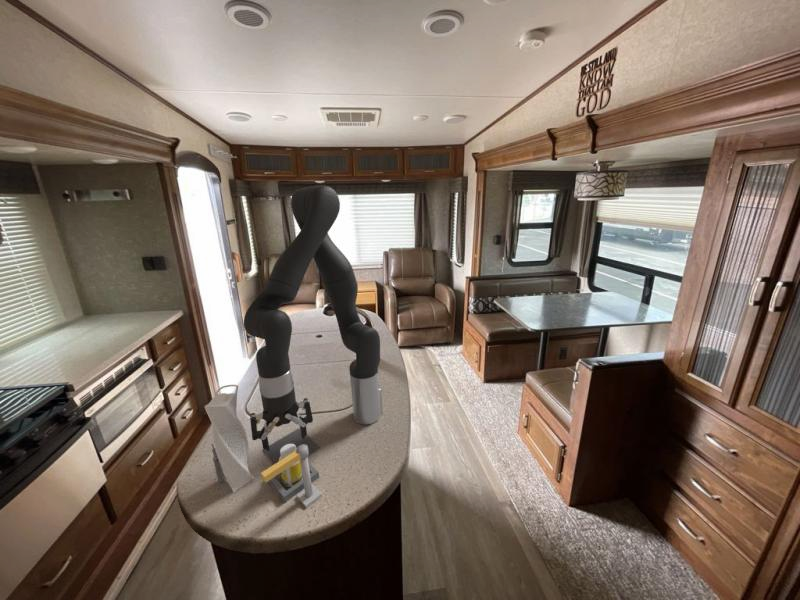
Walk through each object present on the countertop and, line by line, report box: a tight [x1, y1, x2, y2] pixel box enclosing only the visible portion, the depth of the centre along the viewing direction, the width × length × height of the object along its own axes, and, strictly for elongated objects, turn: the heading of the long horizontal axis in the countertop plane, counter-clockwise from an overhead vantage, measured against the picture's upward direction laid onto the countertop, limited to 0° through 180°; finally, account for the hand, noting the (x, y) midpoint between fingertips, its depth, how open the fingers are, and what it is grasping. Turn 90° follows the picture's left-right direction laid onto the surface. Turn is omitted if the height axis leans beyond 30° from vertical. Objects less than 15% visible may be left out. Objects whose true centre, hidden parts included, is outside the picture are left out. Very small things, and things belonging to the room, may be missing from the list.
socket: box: [267, 456, 323, 509], centre depth 79 cm, size 10×15×13 cm, turn 47°
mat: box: [262, 427, 321, 465], centre depth 93 cm, size 12×12×1 cm
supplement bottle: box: [279, 444, 303, 488], centre depth 82 cm, size 5×5×10 cm
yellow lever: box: [260, 444, 309, 483], centre depth 71 cm, size 11×3×2 cm, turn 138°
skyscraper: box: [204, 384, 255, 498], centre depth 79 cm, size 8×8×28 cm
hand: (285, 442), depth 79 cm, fingers open, 8 cm apart
